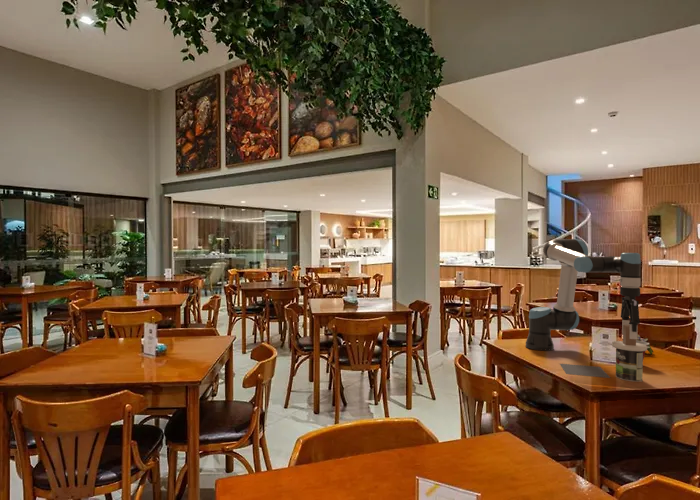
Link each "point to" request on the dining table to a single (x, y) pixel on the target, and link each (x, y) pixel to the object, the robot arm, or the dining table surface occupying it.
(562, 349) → the dining table surface
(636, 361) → the coffee can
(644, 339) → the passion flower
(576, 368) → the mat
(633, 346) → the lid
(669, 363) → the dining table surface
